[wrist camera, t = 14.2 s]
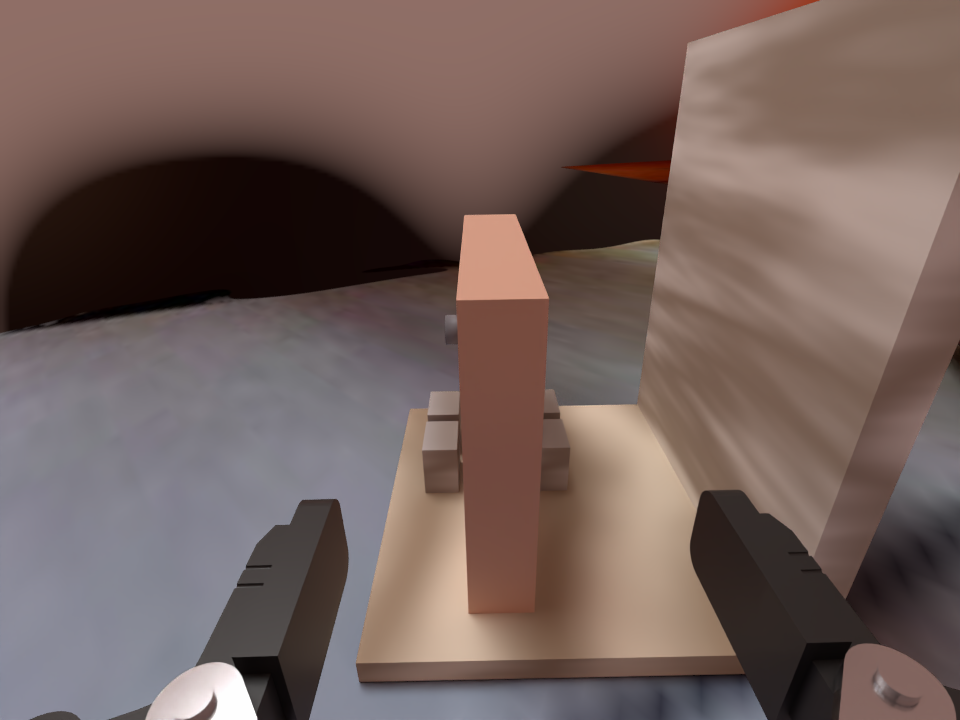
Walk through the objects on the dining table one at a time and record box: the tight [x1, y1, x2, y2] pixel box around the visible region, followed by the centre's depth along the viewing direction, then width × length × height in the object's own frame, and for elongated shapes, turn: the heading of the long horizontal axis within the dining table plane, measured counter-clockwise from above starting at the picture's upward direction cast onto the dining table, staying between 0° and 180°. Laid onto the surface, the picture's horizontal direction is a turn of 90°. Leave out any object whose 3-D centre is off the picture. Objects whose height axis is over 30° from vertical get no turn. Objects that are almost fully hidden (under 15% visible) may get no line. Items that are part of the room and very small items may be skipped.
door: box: [445, 214, 549, 614], centre depth 21 cm, size 3×12×12 cm, turn 0°
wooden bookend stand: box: [356, 0, 960, 682], centre depth 20 cm, size 16×16×20 cm
